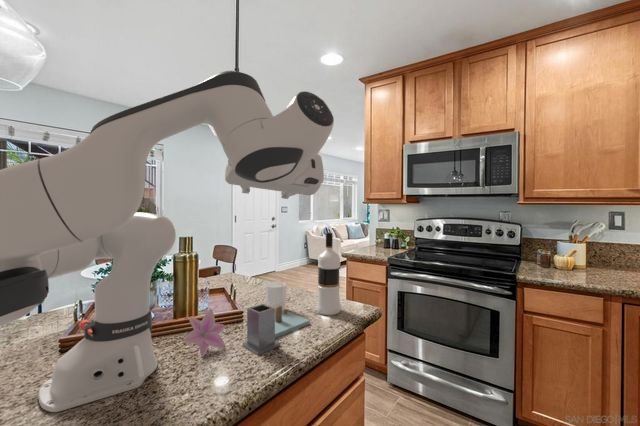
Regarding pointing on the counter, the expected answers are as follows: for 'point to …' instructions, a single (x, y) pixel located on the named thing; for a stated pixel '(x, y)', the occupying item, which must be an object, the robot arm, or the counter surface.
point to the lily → (205, 333)
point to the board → (287, 321)
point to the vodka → (328, 280)
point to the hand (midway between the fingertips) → (265, 193)
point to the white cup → (276, 294)
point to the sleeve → (260, 329)
